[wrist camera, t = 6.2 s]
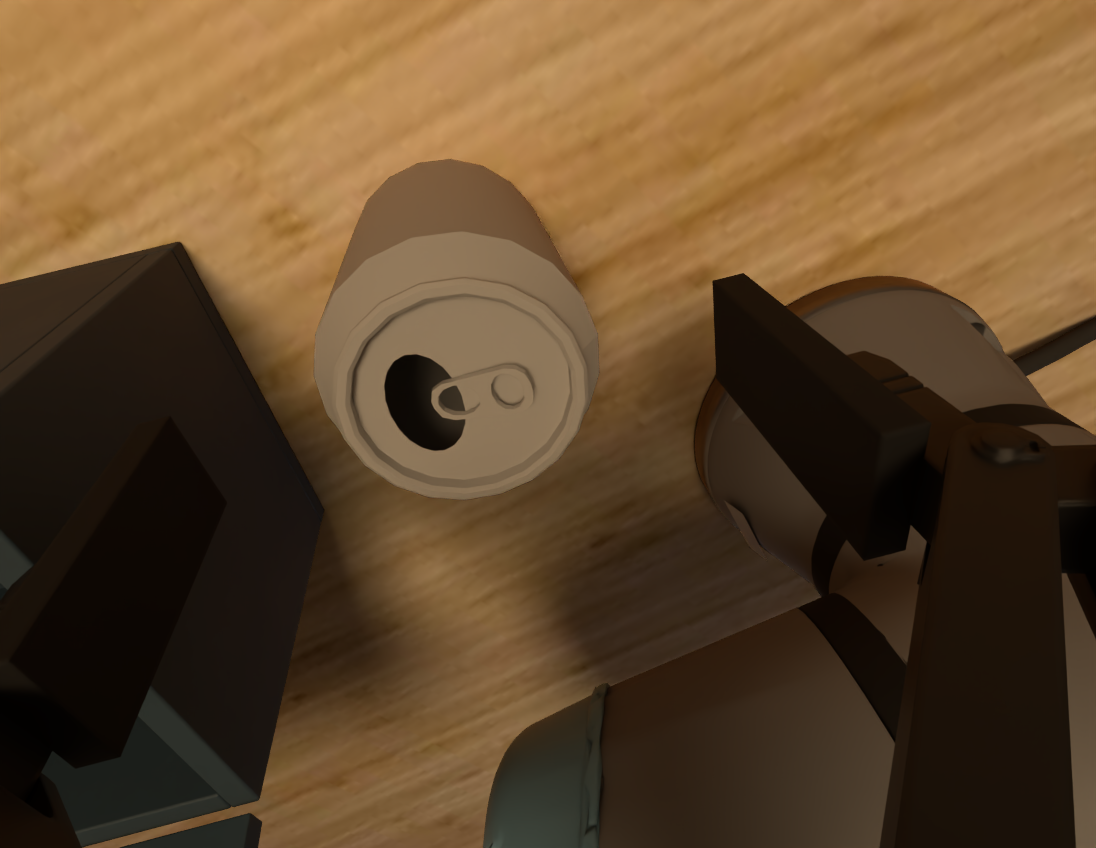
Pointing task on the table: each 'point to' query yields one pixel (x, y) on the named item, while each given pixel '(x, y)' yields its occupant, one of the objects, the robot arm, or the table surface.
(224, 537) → the bin
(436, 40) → the table surface
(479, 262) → the can
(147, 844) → the bin lid
